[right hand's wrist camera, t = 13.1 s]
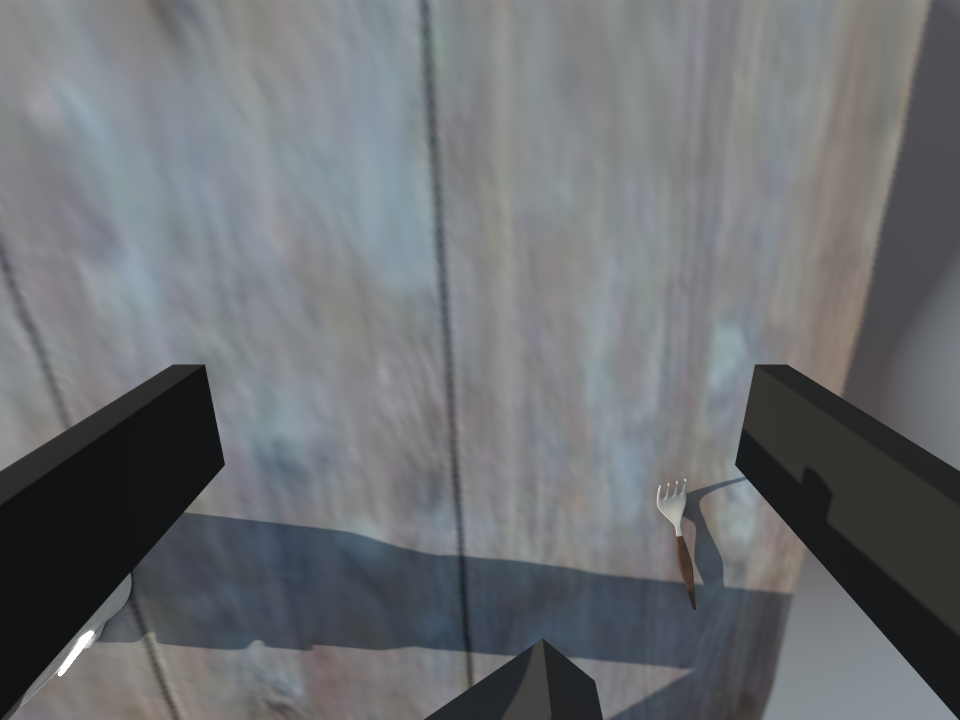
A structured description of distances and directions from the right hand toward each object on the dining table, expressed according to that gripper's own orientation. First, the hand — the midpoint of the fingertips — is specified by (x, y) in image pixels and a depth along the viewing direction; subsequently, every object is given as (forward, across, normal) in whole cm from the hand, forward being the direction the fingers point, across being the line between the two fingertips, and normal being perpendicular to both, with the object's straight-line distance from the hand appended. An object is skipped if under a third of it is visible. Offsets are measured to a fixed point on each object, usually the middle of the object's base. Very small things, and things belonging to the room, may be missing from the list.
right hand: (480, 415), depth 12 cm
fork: (+27, +18, -26) cm, 42 cm away
